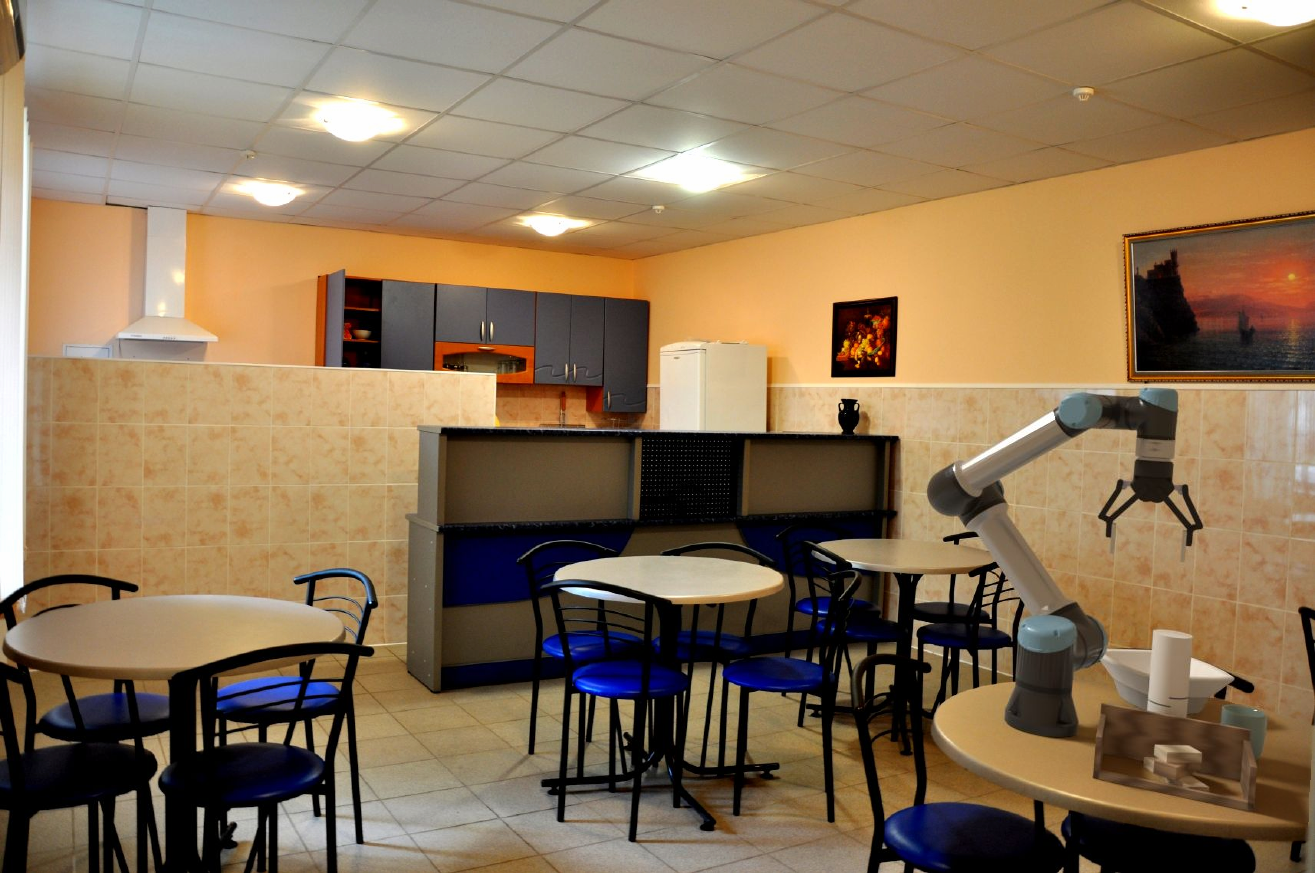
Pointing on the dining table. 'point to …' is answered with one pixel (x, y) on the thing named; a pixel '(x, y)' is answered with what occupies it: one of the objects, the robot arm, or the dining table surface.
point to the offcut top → (1177, 754)
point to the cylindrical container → (1170, 672)
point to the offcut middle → (1174, 769)
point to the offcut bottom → (1183, 782)
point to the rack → (1145, 729)
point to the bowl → (1135, 675)
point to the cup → (1247, 724)
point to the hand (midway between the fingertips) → (1146, 557)
